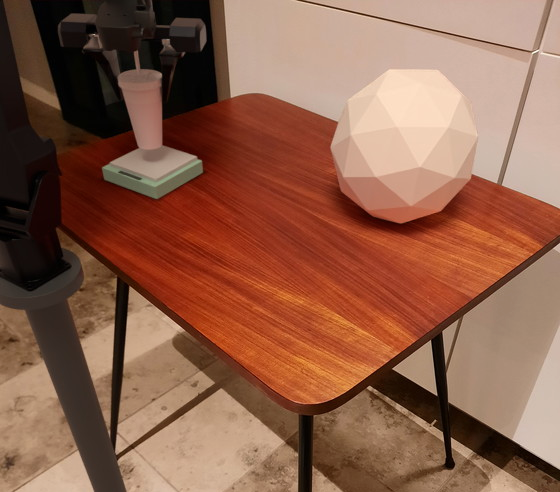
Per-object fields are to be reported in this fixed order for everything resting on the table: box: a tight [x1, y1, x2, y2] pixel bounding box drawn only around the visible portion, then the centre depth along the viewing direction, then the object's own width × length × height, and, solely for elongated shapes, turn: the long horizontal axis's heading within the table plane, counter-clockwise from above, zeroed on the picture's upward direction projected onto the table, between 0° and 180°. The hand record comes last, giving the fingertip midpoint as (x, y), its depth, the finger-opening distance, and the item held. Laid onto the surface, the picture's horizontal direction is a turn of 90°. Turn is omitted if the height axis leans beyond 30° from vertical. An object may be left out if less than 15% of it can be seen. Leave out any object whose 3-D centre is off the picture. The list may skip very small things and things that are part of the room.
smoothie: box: [118, 50, 163, 150], centre depth 80 cm, size 6×6×14 cm
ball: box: [330, 68, 479, 224], centre depth 76 cm, size 19×20×20 cm
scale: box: [101, 144, 204, 200], centre depth 88 cm, size 11×11×3 cm
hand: (143, 100), depth 81 cm, fingers closed on smoothie, 6 cm apart
